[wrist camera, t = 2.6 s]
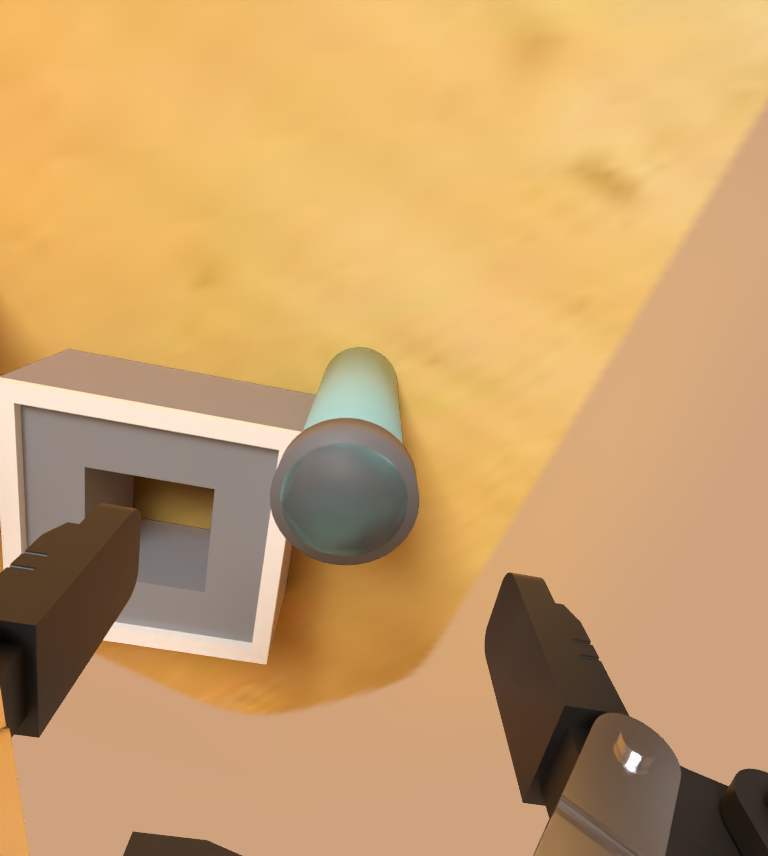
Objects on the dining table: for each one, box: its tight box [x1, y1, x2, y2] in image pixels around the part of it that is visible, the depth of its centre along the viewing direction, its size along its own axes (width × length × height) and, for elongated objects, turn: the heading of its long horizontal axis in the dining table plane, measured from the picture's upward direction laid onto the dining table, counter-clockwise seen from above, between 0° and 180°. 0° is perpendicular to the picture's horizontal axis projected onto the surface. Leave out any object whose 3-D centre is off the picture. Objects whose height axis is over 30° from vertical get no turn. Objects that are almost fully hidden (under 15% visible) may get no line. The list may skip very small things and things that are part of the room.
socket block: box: [0, 349, 316, 664], centre depth 26 cm, size 12×12×5 cm
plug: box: [270, 347, 419, 565], centre depth 21 cm, size 4×4×12 cm
